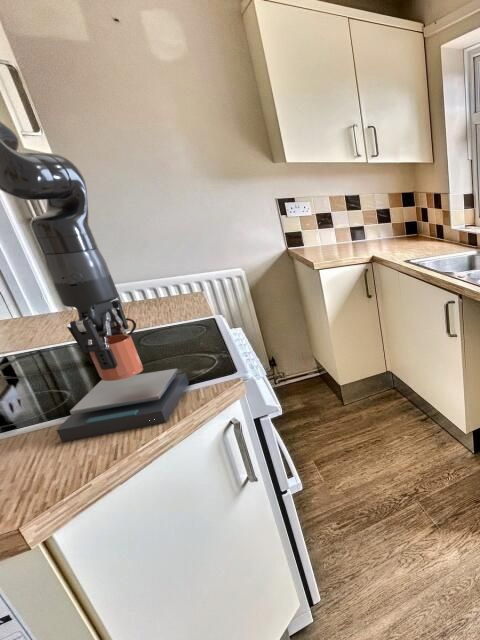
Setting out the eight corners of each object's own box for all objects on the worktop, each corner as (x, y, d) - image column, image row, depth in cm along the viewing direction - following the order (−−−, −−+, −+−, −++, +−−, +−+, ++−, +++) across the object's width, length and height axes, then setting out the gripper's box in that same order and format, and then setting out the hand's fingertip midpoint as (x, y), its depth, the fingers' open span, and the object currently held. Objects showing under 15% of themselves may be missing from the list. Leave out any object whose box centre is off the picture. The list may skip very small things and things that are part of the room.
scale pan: (71, 415, 76) (69, 411, 75) (102, 383, 87) (101, 380, 86) (159, 399, 80) (158, 395, 80) (178, 371, 91) (177, 368, 91)
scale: (62, 442, 74) (55, 428, 72) (103, 397, 88) (98, 385, 87) (166, 422, 79) (160, 409, 78) (189, 383, 93) (185, 371, 92)
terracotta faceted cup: (95, 383, 78) (79, 349, 76) (109, 370, 84) (95, 337, 81) (136, 377, 80) (123, 343, 78) (148, 364, 86) (135, 332, 83)
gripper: (74, 270, 79) (108, 350, 86) (30, 288, 67) (74, 381, 74) (123, 265, 82) (153, 344, 88) (90, 282, 70) (127, 372, 76)
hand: (117, 360), depth 81 cm, fingers closed on terracotta faceted cup, 6 cm apart
